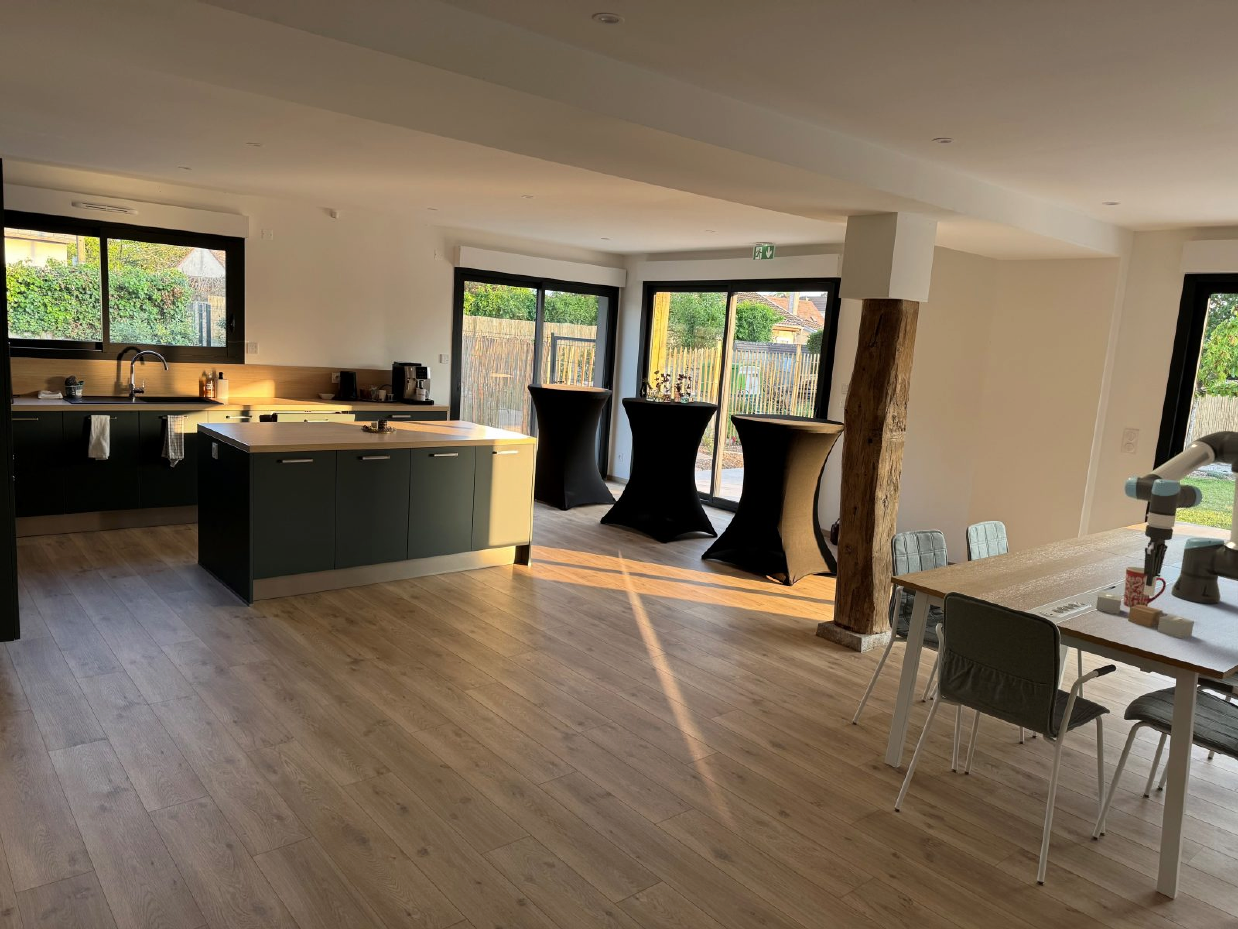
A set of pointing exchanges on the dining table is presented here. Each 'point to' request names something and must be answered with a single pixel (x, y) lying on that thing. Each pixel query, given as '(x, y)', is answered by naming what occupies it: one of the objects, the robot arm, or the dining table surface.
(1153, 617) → the walnut block
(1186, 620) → the marked block
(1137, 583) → the mug
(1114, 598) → the marked block
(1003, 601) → the dining table surface
